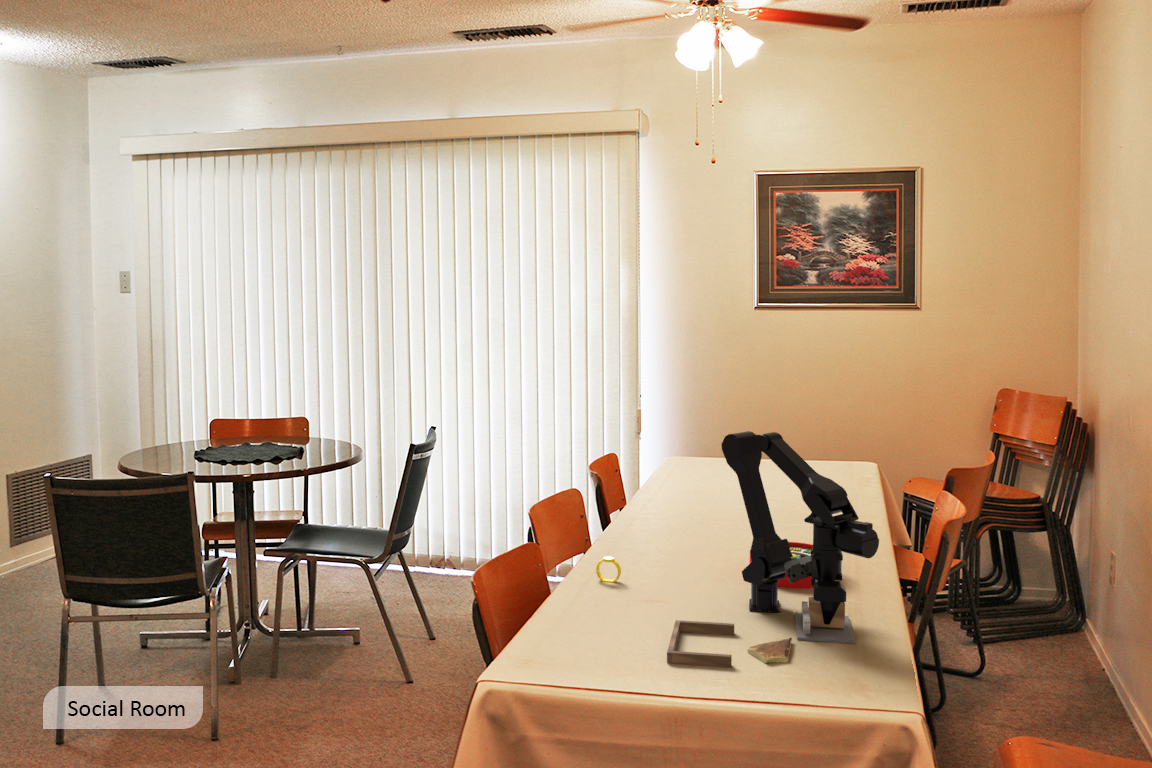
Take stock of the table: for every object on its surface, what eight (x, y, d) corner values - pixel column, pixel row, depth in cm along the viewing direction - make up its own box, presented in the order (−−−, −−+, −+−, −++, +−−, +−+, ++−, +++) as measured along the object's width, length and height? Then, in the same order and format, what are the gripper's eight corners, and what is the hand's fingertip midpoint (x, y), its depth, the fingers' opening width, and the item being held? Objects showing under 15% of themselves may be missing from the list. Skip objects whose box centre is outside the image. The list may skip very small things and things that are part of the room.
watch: (621, 582, 218) (622, 558, 218) (617, 585, 216) (619, 561, 215) (598, 577, 221) (599, 554, 220) (594, 581, 218) (595, 557, 217)
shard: (791, 644, 179) (791, 636, 179) (816, 658, 172) (816, 649, 172) (745, 654, 175) (746, 645, 174) (769, 669, 168) (769, 659, 168)
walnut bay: (675, 629, 187) (675, 620, 186) (734, 633, 184) (734, 623, 184) (667, 662, 170) (666, 652, 170) (731, 667, 168) (731, 656, 167)
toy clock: (783, 537, 234) (850, 553, 219) (782, 559, 235) (849, 576, 219) (732, 552, 221) (800, 570, 206) (732, 575, 222) (800, 595, 207)
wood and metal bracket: (801, 612, 192) (801, 589, 192) (841, 614, 191) (841, 591, 190) (804, 633, 181) (804, 609, 180) (846, 636, 179) (846, 611, 178)
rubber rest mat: (795, 615, 194) (795, 612, 194) (848, 618, 191) (848, 615, 191) (797, 639, 180) (797, 637, 180) (854, 643, 178) (854, 641, 178)
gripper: (785, 533, 195) (785, 603, 196) (788, 558, 176) (787, 635, 178) (839, 535, 192) (838, 606, 194) (847, 561, 174) (845, 639, 176)
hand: (826, 620), depth 185 cm, fingers closed on wood and metal bracket, 3 cm apart
